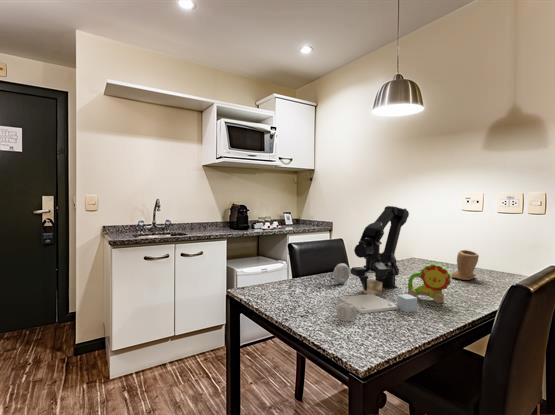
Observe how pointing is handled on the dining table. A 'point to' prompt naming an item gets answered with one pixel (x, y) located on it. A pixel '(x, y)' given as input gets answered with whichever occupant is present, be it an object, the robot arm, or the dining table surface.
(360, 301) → the building plate
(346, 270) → the donut
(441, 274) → the toy lion
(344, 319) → the die
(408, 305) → the slate brick
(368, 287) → the maple brick
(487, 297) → the dining table surface
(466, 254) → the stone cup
